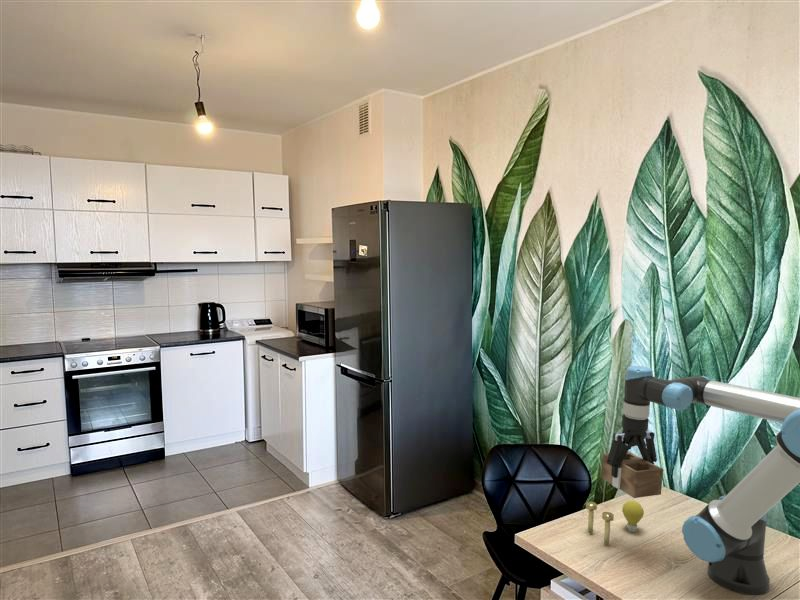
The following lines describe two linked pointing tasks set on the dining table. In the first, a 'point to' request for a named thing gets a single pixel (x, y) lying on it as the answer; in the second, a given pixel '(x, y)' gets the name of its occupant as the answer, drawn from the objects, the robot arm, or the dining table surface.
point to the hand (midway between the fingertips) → (630, 485)
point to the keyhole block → (635, 476)
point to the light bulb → (632, 514)
